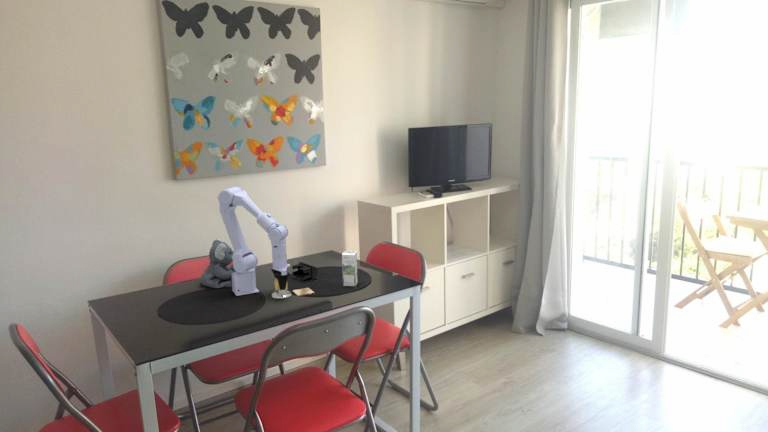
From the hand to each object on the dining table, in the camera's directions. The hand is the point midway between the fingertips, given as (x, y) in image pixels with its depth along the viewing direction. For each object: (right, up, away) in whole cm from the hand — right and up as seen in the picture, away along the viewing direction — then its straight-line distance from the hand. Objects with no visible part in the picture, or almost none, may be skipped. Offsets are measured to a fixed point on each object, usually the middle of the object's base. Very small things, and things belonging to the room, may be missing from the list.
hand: (281, 287), depth 222 cm
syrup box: (+27, -1, +13) cm, 30 cm away
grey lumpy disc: (0, -3, +1) cm, 3 cm away
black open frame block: (+7, +1, +22) cm, 23 cm away
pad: (+8, -3, +4) cm, 10 cm away
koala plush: (-29, -1, +17) cm, 34 cm away
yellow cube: (0, 0, 0) cm, 0 cm away
